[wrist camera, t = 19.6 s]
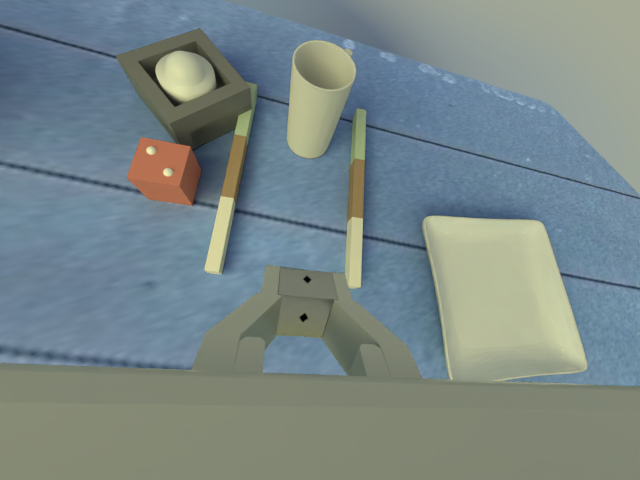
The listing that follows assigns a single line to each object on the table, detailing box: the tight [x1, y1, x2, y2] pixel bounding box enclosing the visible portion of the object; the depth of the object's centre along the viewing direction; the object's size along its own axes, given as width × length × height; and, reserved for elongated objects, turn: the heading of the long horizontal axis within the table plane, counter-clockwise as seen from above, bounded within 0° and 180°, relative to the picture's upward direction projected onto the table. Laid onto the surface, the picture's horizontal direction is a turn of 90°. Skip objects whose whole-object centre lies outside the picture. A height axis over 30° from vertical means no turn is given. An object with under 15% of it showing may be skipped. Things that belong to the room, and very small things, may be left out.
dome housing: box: [116, 28, 252, 150], centre depth 32 cm, size 11×11×6 cm
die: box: [127, 137, 202, 206], centre depth 29 cm, size 5×5×5 cm
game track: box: [205, 82, 366, 289], centre depth 34 cm, size 27×18×2 cm, turn 175°
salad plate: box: [422, 216, 587, 381], centre depth 35 cm, size 21×21×3 cm
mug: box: [287, 40, 356, 158], centre depth 32 cm, size 10×7×12 cm, turn 144°
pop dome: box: [155, 51, 218, 106], centre depth 30 cm, size 6×6×4 cm
